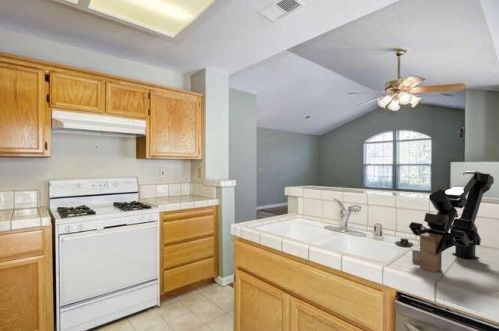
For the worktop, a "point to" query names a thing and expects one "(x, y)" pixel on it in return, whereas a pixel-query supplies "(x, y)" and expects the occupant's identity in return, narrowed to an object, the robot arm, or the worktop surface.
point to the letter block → (416, 254)
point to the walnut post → (430, 252)
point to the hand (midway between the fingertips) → (428, 251)
